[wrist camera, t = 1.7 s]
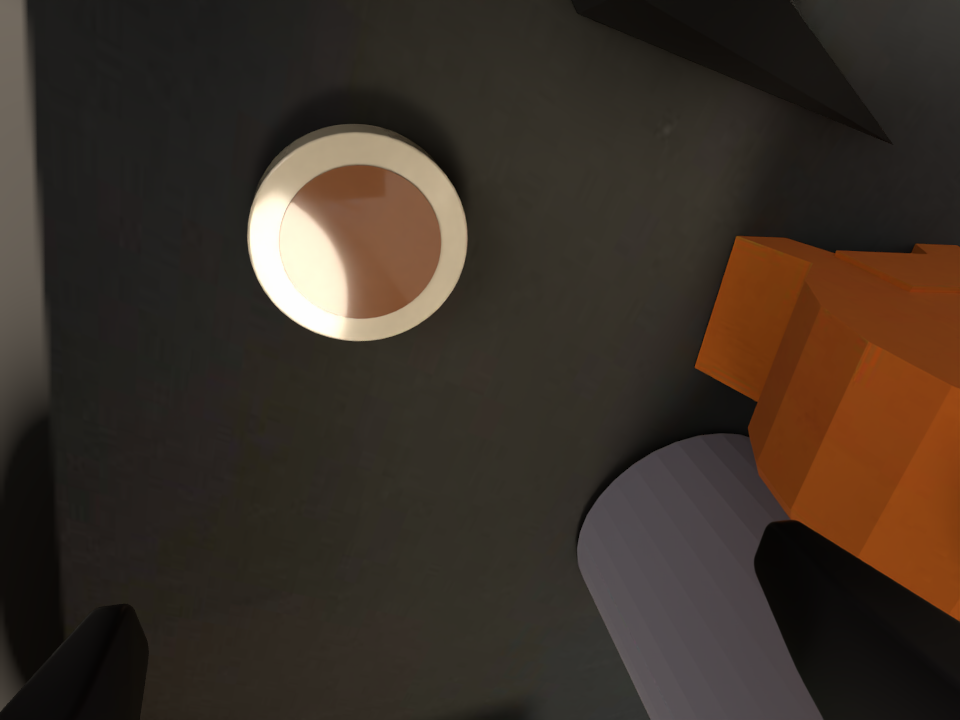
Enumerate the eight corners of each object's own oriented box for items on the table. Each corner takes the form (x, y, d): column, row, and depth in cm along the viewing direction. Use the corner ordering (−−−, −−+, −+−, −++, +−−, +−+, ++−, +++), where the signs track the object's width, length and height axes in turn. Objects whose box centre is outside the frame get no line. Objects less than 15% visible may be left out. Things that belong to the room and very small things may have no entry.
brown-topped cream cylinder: (239, 299, 19) (234, 325, 18) (267, 94, 17) (263, 104, 15) (428, 329, 21) (438, 356, 20) (478, 150, 19) (494, 164, 17)
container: (635, 411, 25) (967, 830, 13) (822, 446, 29) (1222, 797, 16) (539, 593, 29) (716, 1046, 17) (713, 604, 33) (965, 980, 21)
